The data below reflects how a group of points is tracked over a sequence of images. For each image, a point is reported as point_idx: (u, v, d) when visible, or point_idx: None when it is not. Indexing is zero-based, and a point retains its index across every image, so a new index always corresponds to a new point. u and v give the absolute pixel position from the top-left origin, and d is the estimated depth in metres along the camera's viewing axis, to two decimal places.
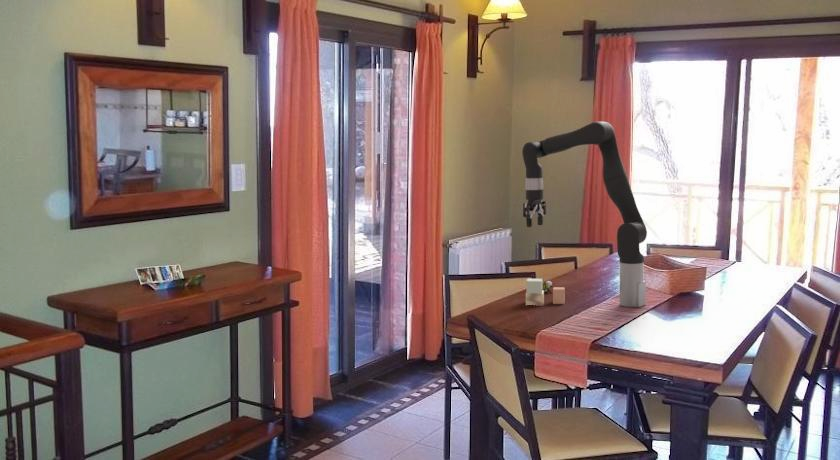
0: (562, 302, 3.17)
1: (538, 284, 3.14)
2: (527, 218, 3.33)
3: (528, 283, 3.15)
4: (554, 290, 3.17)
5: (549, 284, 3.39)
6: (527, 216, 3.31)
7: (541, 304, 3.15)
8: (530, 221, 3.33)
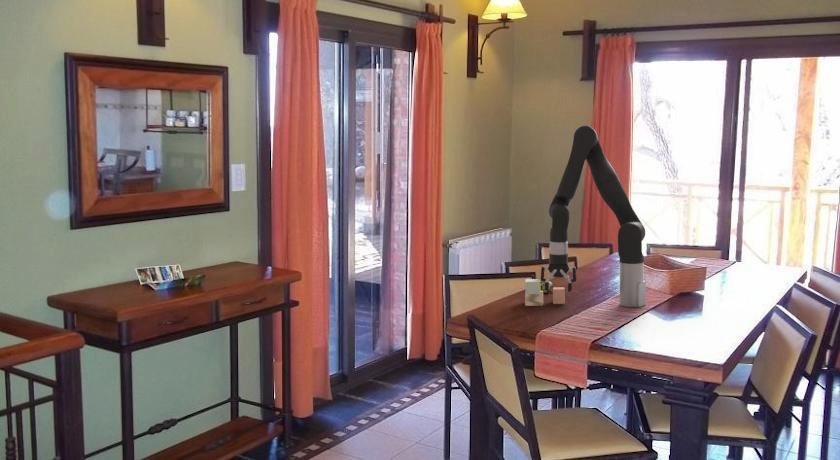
0: (562, 302, 3.17)
1: (537, 284, 3.14)
2: (571, 282, 3.18)
3: (527, 284, 3.15)
4: (554, 290, 3.17)
5: (549, 284, 3.38)
6: None
7: (541, 305, 3.14)
8: None
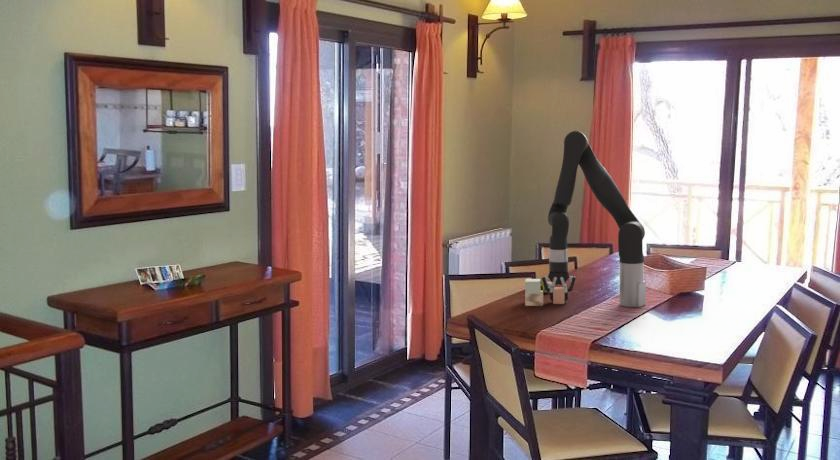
0: (562, 302, 3.17)
1: (537, 284, 3.14)
2: None
3: (527, 283, 3.15)
4: (554, 290, 3.17)
5: (550, 285, 3.38)
6: None
7: (541, 304, 3.14)
8: None
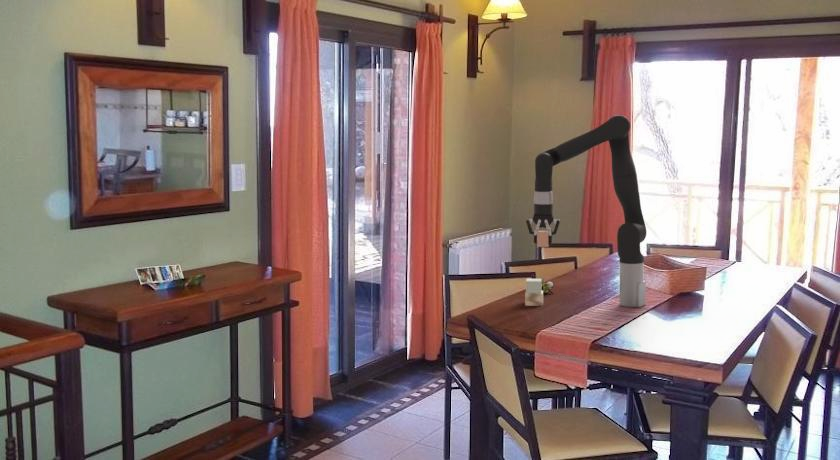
0: (546, 245, 3.14)
1: (538, 284, 3.14)
2: None
3: (528, 283, 3.15)
4: (538, 233, 3.14)
5: (550, 285, 3.37)
6: None
7: (541, 304, 3.14)
8: None
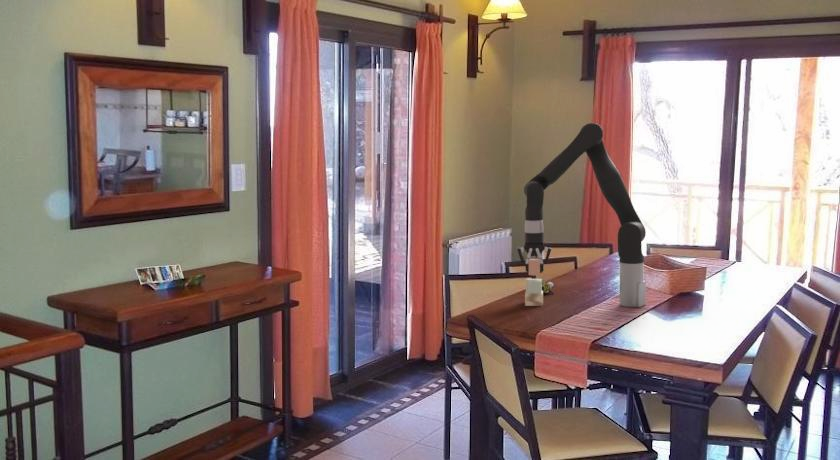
0: (538, 273, 3.15)
1: (538, 284, 3.14)
2: (542, 264, 3.16)
3: (528, 283, 3.15)
4: (530, 261, 3.15)
5: (551, 285, 3.37)
6: None
7: (540, 304, 3.14)
8: None
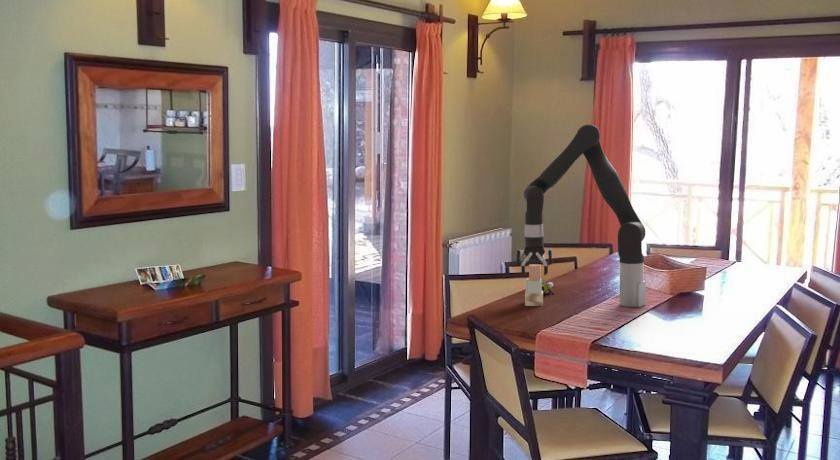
0: (538, 279, 3.15)
1: (538, 284, 3.14)
2: (547, 265, 3.16)
3: (528, 283, 3.15)
4: (530, 267, 3.15)
5: (551, 285, 3.37)
6: None
7: (541, 304, 3.14)
8: None
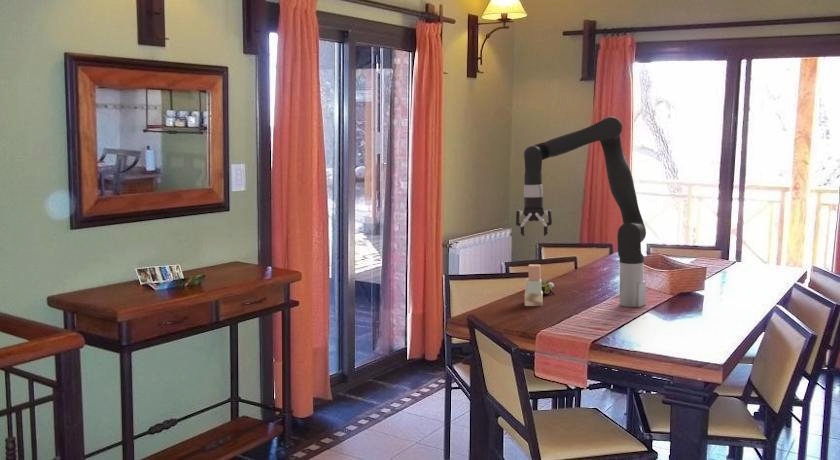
0: (538, 279, 3.15)
1: (538, 284, 3.14)
2: (547, 226, 3.14)
3: (527, 283, 3.14)
4: (529, 267, 3.15)
5: (551, 285, 3.36)
6: None
7: (540, 304, 3.14)
8: None
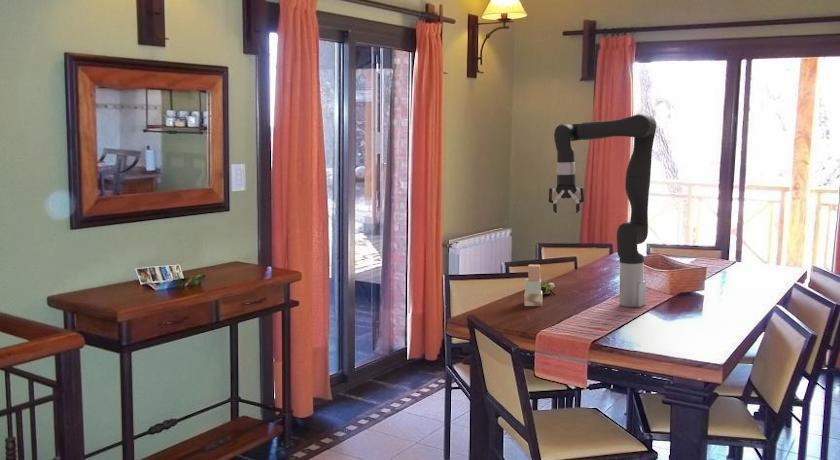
0: (537, 279, 3.15)
1: (537, 284, 3.14)
2: (579, 203, 3.20)
3: (527, 283, 3.14)
4: (529, 267, 3.15)
5: (552, 286, 3.35)
6: None
7: (540, 304, 3.14)
8: None
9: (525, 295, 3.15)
